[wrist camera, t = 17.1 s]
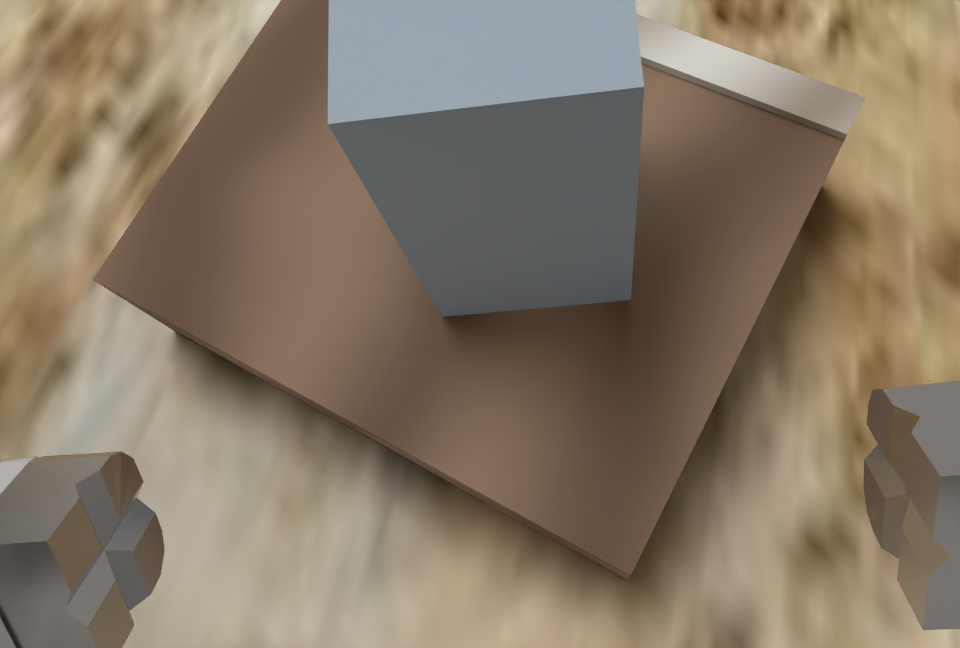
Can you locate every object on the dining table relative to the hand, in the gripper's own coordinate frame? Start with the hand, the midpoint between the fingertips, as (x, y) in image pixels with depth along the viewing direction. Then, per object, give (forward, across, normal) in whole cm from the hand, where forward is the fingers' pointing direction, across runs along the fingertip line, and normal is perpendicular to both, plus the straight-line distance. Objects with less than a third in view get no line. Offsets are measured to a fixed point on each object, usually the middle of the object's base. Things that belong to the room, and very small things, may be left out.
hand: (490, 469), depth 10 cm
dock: (+19, +2, +5) cm, 20 cm away
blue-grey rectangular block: (+15, 0, +3) cm, 15 cm away
